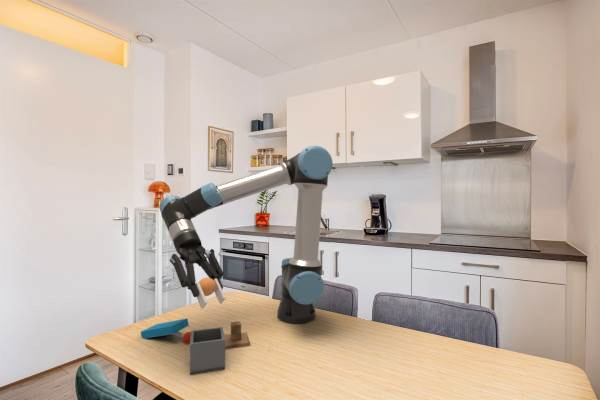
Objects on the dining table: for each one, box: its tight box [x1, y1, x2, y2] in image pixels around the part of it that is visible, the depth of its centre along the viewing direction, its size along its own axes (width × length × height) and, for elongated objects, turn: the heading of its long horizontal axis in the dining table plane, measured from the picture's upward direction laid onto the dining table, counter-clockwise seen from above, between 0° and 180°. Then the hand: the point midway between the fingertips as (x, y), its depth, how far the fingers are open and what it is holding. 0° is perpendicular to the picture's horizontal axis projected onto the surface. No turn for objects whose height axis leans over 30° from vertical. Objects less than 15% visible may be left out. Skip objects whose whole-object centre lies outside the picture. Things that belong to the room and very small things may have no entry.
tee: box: [224, 320, 251, 350], centre depth 100 cm, size 8×8×6 cm
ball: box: [198, 277, 216, 297], centre depth 87 cm, size 5×5×5 cm
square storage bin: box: [189, 326, 226, 376], centre depth 87 cm, size 9×9×8 cm
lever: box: [140, 318, 191, 344], centre depth 103 cm, size 7×7×18 cm
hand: (213, 303), depth 84 cm, fingers closed on ball, 5 cm apart
